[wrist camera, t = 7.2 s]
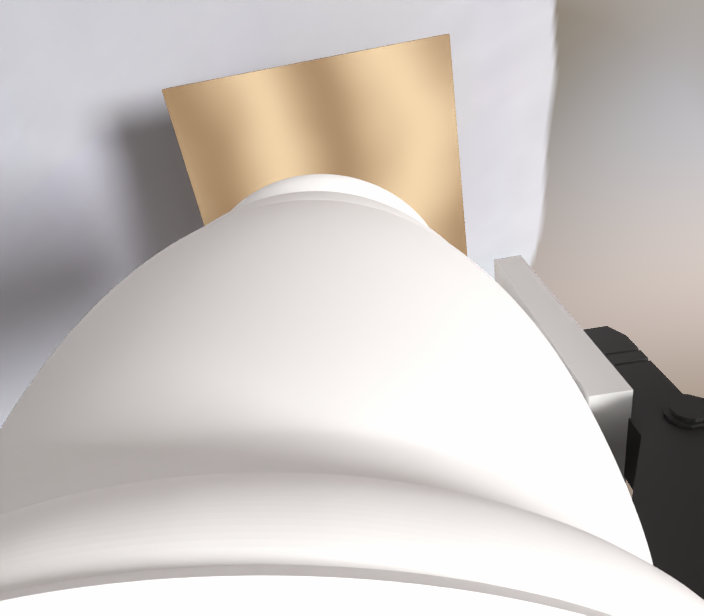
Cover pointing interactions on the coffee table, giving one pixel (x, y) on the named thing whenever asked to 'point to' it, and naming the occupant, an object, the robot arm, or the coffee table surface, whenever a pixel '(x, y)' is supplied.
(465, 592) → the jar
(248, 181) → the stool
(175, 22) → the coffee table surface
